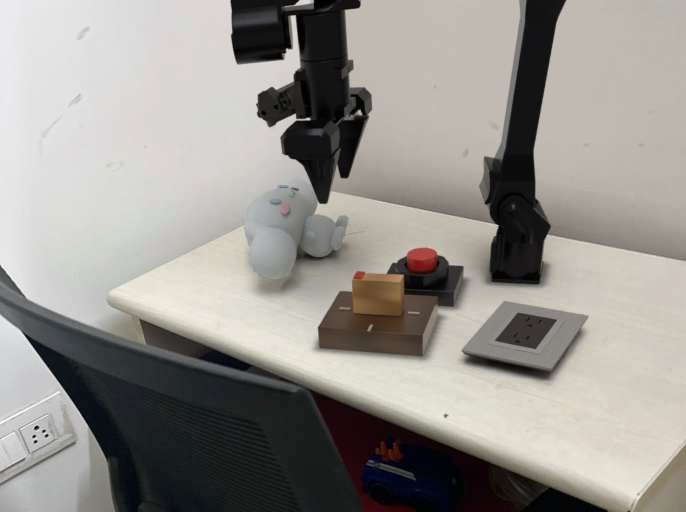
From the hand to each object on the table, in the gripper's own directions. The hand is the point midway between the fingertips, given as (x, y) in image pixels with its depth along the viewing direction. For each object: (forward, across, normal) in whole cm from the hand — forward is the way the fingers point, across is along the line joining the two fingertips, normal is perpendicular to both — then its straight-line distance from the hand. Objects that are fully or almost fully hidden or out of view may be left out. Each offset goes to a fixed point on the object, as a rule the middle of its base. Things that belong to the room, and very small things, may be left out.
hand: (334, 190), depth 101 cm
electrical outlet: (+14, +13, +27) cm, 33 cm away
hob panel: (+13, +13, +9) cm, 20 cm away
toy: (+13, -9, -10) cm, 19 cm away
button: (+10, +1, +12) cm, 15 cm away
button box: (+13, +1, +12) cm, 18 cm away
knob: (+10, +13, +9) cm, 18 cm away
